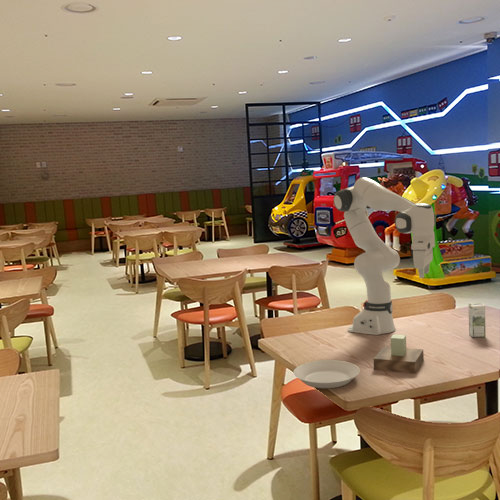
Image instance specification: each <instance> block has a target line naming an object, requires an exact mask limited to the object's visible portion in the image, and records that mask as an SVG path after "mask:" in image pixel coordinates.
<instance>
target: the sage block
mask: <svg viewBox="0 0 500 500" xmlns="http://www.w3.org/2000/svg"><path fill="white" fill-rule="evenodd" d="M390 347H391V355H396V356H404V355H405V354H406V348H407V335H405V334H392V336H391V337H390Z"/></svg>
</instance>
